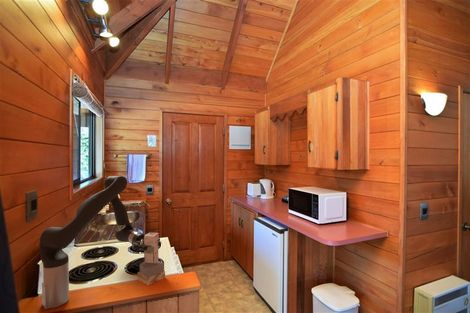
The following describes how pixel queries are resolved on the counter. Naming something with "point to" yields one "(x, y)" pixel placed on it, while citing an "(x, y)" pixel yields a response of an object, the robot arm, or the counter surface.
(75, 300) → the counter surface
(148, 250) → the pinkish brown brick pillar
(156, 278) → the tower base
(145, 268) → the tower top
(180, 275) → the counter surface
